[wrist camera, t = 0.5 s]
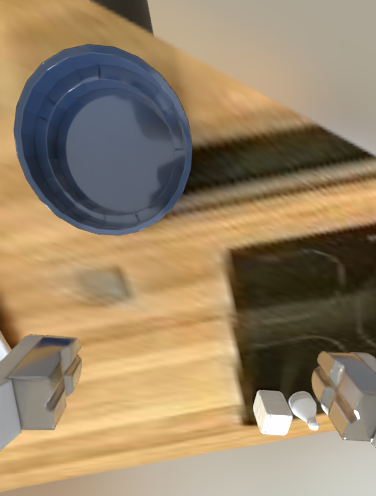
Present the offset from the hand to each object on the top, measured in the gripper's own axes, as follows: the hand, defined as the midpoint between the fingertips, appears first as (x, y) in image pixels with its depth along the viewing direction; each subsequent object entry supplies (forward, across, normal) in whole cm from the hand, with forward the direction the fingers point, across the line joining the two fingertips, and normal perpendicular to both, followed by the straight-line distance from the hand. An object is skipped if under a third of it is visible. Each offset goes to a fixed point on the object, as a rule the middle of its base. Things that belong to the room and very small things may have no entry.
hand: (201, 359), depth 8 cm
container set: (+28, -27, +37) cm, 54 cm away
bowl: (+29, +10, -8) cm, 32 cm away
